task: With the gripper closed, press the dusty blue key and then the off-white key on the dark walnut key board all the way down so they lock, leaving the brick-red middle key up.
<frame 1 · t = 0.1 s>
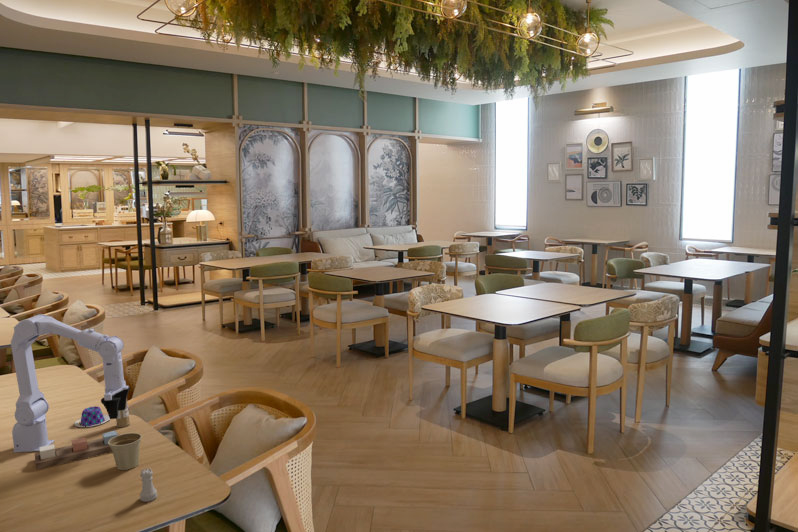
hand: (117, 414, 204), 10 cm above the table, tool pointing down, fingers open, 7 cm apart
key board: (80, 454, 198), on the table
sprinkles bottle: (123, 425, 221), on the table
brick key: (79, 445, 198), point 3 cm above the table, slide at 0.0 cm
rook chess piece: (149, 499, 168), on the table
purple domed brimmed piece: (92, 423, 226), on the table
blue key: (110, 438, 202), point 3 cm above the table, slide at 0.0 cm
white key: (47, 452, 193), point 3 cm above the table, slide at 0.0 cm
flower pot: (127, 466, 188), on the table
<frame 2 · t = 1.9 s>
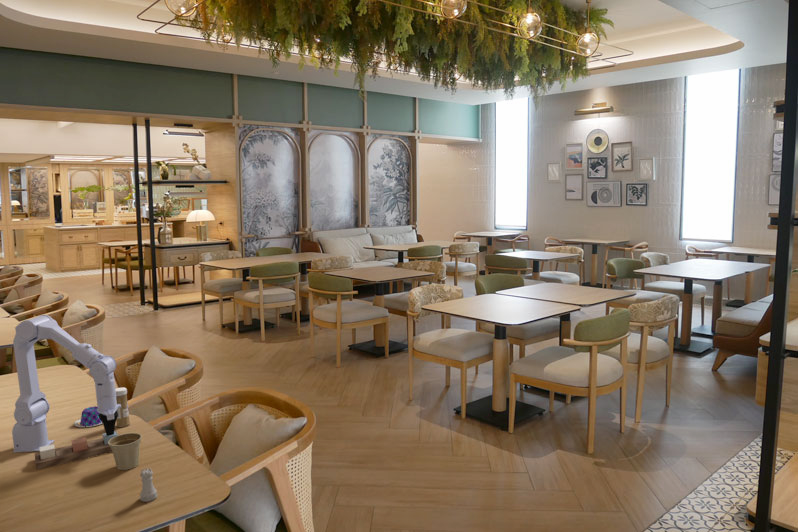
hand: (110, 434, 202), 4 cm above the table, tool pointing down, fingers closed, pressing on blue key
blue key: (110, 438, 202), point 3 cm above the table, slide at 0.2 cm, touching gripper
everything else where it was.
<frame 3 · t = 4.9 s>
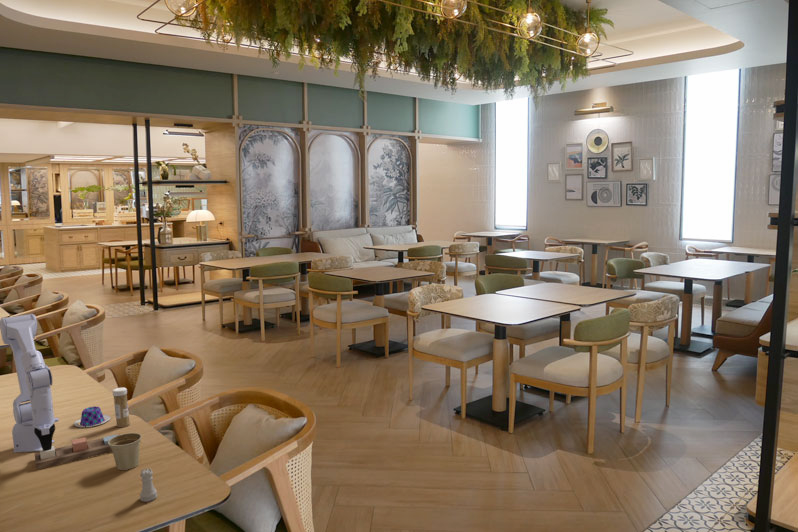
hand: (47, 449, 193), 4 cm above the table, tool pointing down, fingers closed, pressing on white key
blue key: (110, 442, 202), point 2 cm above the table, slide at 1.4 cm
white key: (47, 453, 193), point 3 cm above the table, slide at 0.5 cm, touching gripper
everything else where it was.
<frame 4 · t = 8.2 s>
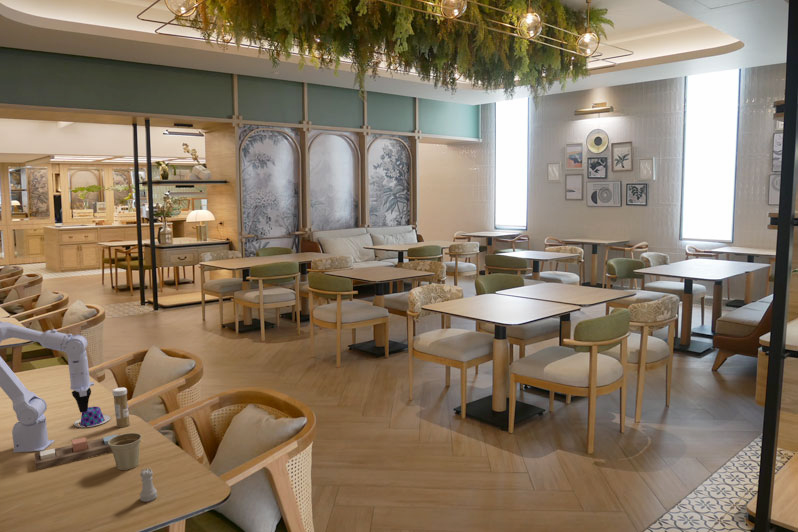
hand: (83, 411, 207), 10 cm above the table, tool pointing down, fingers closed
white key: (48, 456, 193), point 2 cm above the table, slide at 1.4 cm
everything else where it was.
at the end: blue key slide at 1.4 cm; white key slide at 1.4 cm; brick key slide at 0.0 cm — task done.
